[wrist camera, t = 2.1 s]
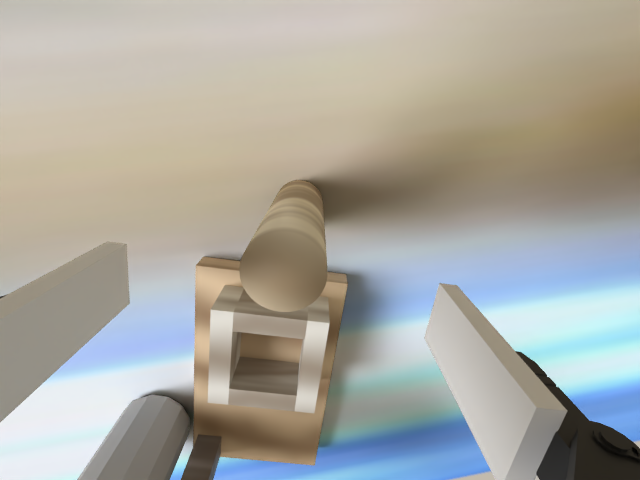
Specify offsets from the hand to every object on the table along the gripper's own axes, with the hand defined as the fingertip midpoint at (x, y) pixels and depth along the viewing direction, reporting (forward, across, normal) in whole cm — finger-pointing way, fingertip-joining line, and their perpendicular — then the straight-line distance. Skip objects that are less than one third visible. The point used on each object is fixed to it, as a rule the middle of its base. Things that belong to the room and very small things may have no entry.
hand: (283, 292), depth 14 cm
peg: (+15, 0, 0) cm, 15 cm away
